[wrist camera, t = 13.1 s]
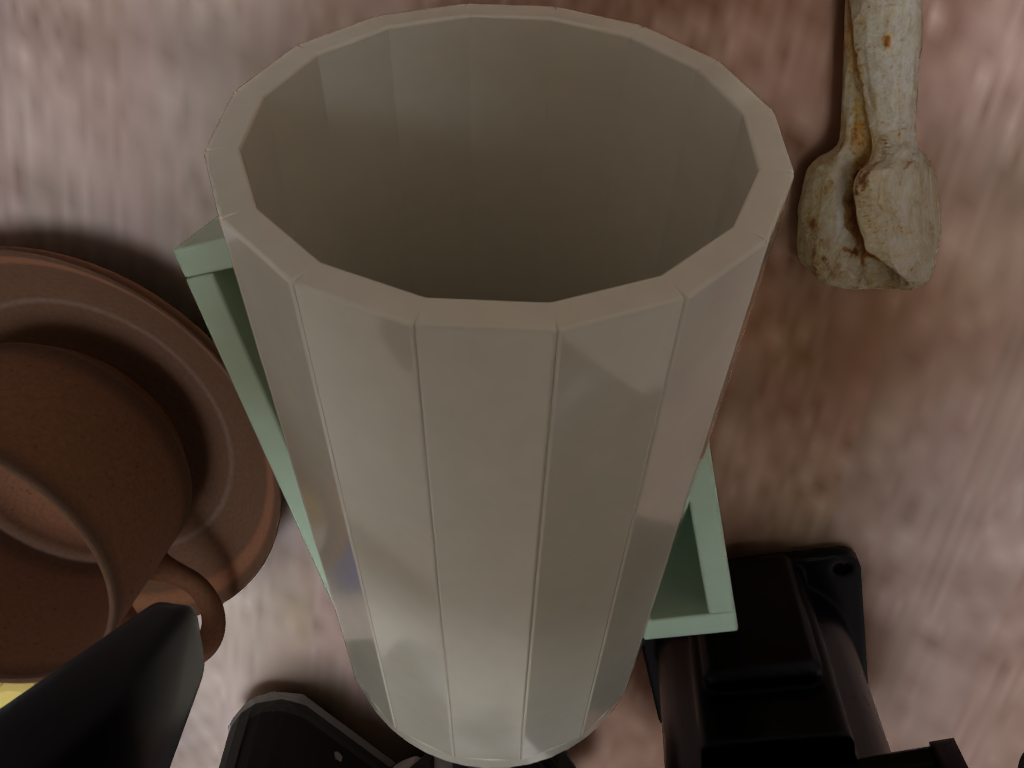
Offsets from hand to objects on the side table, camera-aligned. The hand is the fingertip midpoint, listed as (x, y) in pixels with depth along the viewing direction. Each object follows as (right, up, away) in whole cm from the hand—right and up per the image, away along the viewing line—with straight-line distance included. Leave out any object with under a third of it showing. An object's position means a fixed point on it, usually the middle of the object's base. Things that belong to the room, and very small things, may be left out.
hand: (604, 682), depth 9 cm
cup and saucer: (-13, +2, +15) cm, 20 cm away
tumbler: (-1, -2, +10) cm, 10 cm away
